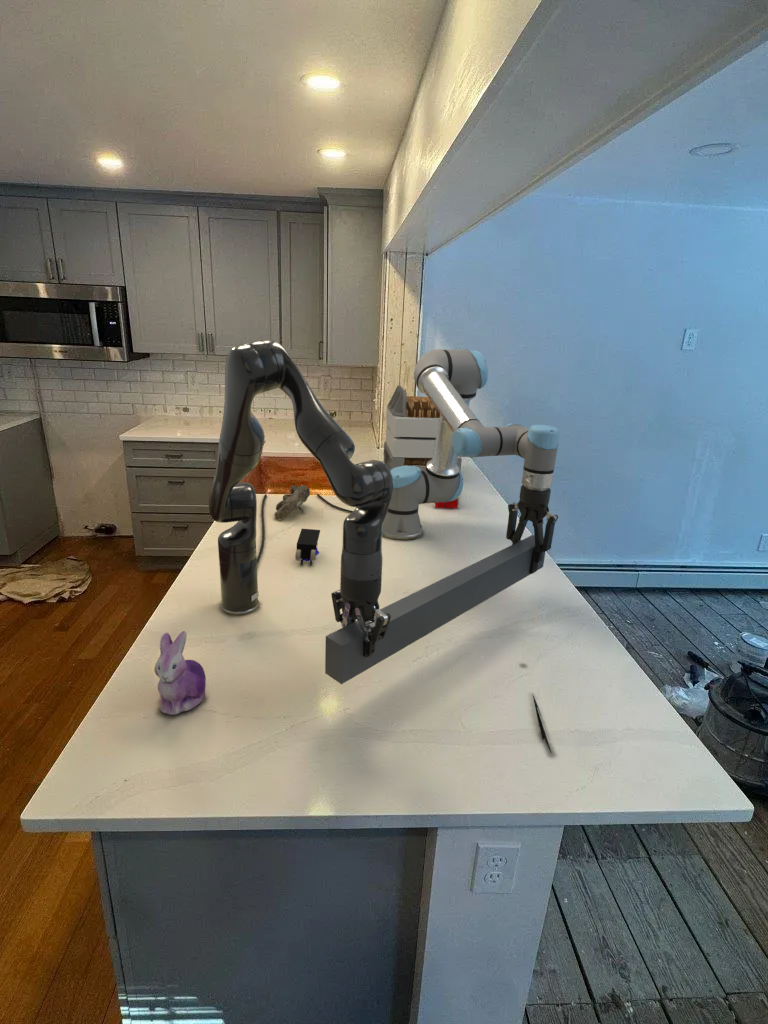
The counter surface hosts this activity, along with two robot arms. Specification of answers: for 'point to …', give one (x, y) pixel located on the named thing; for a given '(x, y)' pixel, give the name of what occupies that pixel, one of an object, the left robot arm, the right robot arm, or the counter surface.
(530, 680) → the counter surface
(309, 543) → the figurine character
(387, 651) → the beam
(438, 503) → the toy
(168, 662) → the figurine
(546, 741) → the feather
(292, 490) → the fossil
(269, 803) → the counter surface
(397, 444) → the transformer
